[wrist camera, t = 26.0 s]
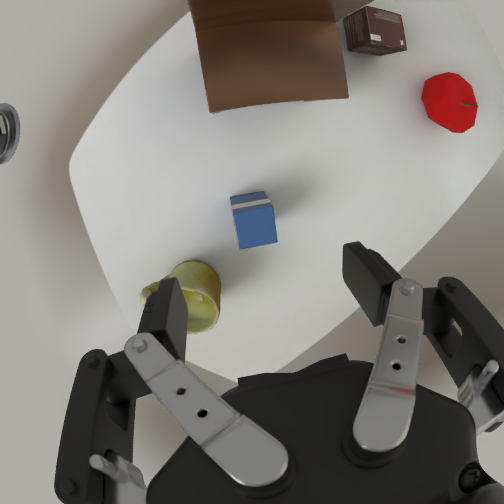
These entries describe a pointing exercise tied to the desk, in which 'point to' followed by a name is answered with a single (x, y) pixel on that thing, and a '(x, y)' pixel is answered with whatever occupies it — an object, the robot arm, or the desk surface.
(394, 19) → the box
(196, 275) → the mug
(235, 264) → the desk surface
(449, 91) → the apple
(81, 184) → the desk surface
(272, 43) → the chair
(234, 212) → the carton
